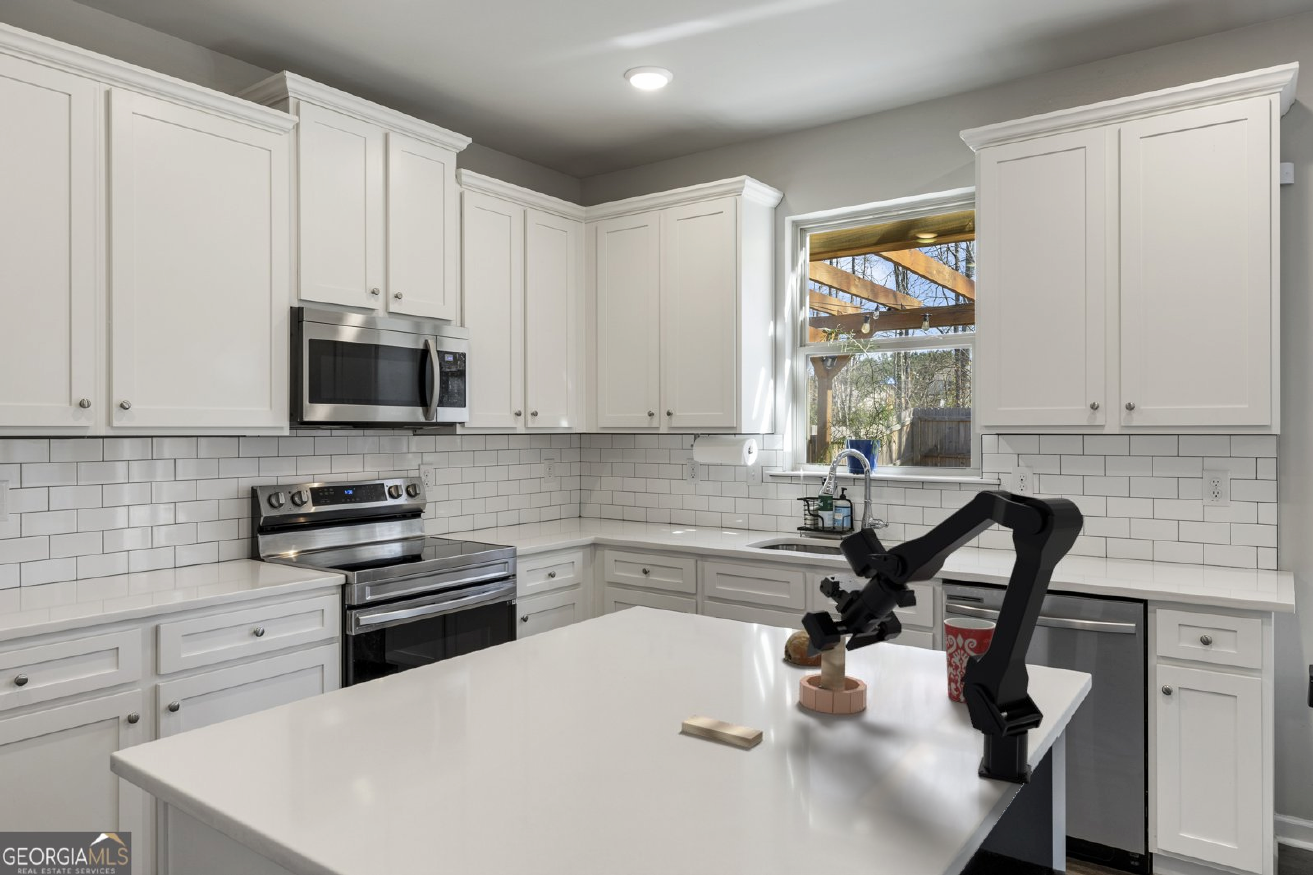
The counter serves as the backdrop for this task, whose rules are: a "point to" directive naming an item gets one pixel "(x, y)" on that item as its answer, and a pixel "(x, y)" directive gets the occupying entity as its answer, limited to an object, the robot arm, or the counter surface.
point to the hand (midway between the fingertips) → (827, 651)
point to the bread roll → (800, 650)
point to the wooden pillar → (834, 668)
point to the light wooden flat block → (722, 731)
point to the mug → (964, 648)
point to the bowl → (833, 695)
